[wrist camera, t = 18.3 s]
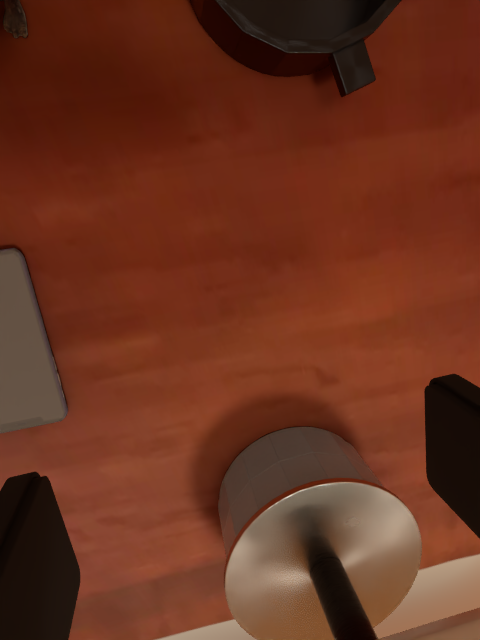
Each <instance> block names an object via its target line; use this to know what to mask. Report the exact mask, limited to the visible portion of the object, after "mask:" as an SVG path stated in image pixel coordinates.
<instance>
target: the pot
mask: <svg viewBox="0 0 480 640" xmlns="http://www.w3.org/2000/svg"><path fill="white" fill-rule="evenodd" d="M329 478H354V479H360V480H365V481H369V482H372V483H375V484H377V485H380V486H382V487H383V485H382V484H381V483H380V481H379V480H378V479H377V477H376V476H375V475H374V473H373V472H372V471H371V469H370V468H369V467H368V466H367V464H366V463H365V462H364V460H363V459H362V458H361V456H360V455H359V454H358V452H357V451H356V450H355V448H354V447H353V446H352V445H351V444H349V443H348V442H347V441H345V440H344V439H343V438H341V437H340V436H338V435H336V434H334V433H332V432H330V431H327V430H324V429H319V428H314V427H292V428H287V429H282V430H279V431H275V432H272V433H270V434H268V435H266V436H263V437H262V438H260V439H258V440H257V441H255V442H253V443H252V444H251V445H249V446H248V447H247V448H246V449H244V450H243V451H242V452H241V453H240V454H239V455H238V456H237V458H236V459H235V460H234V461H233V462H232V464H231V466H230V467H229V469H228V470H227V472H226V474H225V476H224V479H223V481H222V484H221V488H220V493H219V502H218V510H219V517H220V523H221V529H222V535H223V541H224V548H225V554H226V560H227V557H228V554H229V551H230V548H231V546H232V544H233V542H234V540H235V538H236V537H237V535H238V534H239V532H240V530H241V529H242V527H243V526H244V525H245V524H246V523H247V522H248V520H249V519H250V518H251V517H252V516H253V515H254V514H255V513H256V512H257V511H258V510H259V509H260V508H262V507H263V506H264V505H266V504H267V503H268V502H270V501H271V500H272V499H274V498H276V497H277V496H279V495H281V494H282V493H284V492H286V491H288V490H290V489H293V488H295V487H297V486H300V485H303V484H306V483H309V482H312V481H317V480H322V479H329Z"/></svg>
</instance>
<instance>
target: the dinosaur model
mask: <svg viewBox="0 0 480 640" xmlns="http://www.w3.org/2000/svg"><path fill="white" fill-rule="evenodd" d="M0 1H2V0H0ZM3 1H4V3H5V13H4V17H3V25H4V29H5V30H6V31H7V32H9V33H12V34H13V37H14V38H18V37H19V36H20V35H21V36H23V37H24V38H26V37H27V35H28V33H27V23H26V17H25V13H24V10H23V8H22V6H21V4H20V1H19V0H3Z"/></svg>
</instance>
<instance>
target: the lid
mask: <svg viewBox="0 0 480 640" xmlns="http://www.w3.org/2000/svg"><path fill="white" fill-rule="evenodd" d="M421 555H422V542H421V535H420V531H419V528H418V525H417V522H416V520H415V518H414V517H413V515H412V513H411V512H410V510H409V509H408V508H407V507H406V505H405V504H404V503H403V502H402V501H401V500H400V499H399V498H398V497H397V496H396V495H395V494H393V493H392V492H390V491H389V490H387V489H386V488H384V487H382V486H380V485H377V484H375V483H372V482H369V481H365V480H360V479H354V478H329V479H322V480H317V481H312V482H309V483H306V484H303V485H300V486H297V487H295V488H293V489H290V490H288V491H286V492H284V493H282V494H281V495H279V496H277V497H276V498H274V499H272V500H271V501H270V502H268V503H267V504H266V505H264V506H263V507H262V508H260V509H259V510H258V511H257V512H256V513H255V514H254V515H253V516H252V517H251V518H250V519H249V520H248V522H247V523H246V524H245V525H244V526H243V527H242V529H241V530H240V532H239V534H238V535H237V537H236V538H235V540H234V542H233V544H232V546H231V548H230V551H229V554H228V557H227V560H226V564H225V570H224V588H225V594H226V600H227V603H228V606H229V609H230V611H231V613H232V615H233V617H234V618H235V620H236V621H237V622H238V624H239V625H240V626H241V627H242V628H243V629H244V630H245V631H246V632H247V633H248V634H249V635H251V636H252V637H254V638H255V639H257V640H377V639H378V637H377V635H376V633H375V631H374V629H373V628H374V627H375V626H377V625H378V624H379V623H381V622H382V621H383V620H384V619H385V618H386V617H388V616H389V615H390V614H391V613H392V612H393V611H394V610H395V609H396V608H397V606H398V605H399V604H400V603H401V602H402V600H403V599H404V598H405V596H406V595H407V593H408V592H409V590H410V588H411V587H412V585H413V582H414V580H415V578H416V576H417V573H418V569H419V566H420V561H421Z"/></svg>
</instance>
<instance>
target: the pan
mask: <svg viewBox="0 0 480 640" xmlns="http://www.w3.org/2000/svg"><path fill="white" fill-rule="evenodd" d="M400 1H401V0H190V3H191V5H192V7H193V9H194V11H195V14H196V16H197V18H198V19H199V21H200V22H201V24H202V26H203V27H204V29H205V30H206V32H207V33H208V34H209V35H210V37H211V38H212V39H213V40H214V42H215V43H216V44H217V45H218V46H219V47H220V48H221V49H222V50H223V51H225V52H226V53H227V54H228V55H229V56H231V57H232V58H233V59H235V60H236V61H237V62H239V63H241V64H243V65H245V66H246V67H248V68H250V69H253V70H255V71H258V72H261V73H264V74H269V75H273V76H283V77H291V76H301V75H308V74H311V73H313V72H316V71H318V70H321V69H323V68H325V67H327V66H329V65H330V66H331V69H332V72H333V75H334V78H335V81H336V84H337V87H338V89H339V92H340V95H341V97H344V96H346V95H348V94H350V93H352V92H354V91H356V90H358V89H360V88H362V87H364V86H366V85H369V84H370V83H372V82H374V81H375V80H376V78H375V75H374V72H373V69H372V65H371V62H370V59H369V56H368V53H367V49H366V46H365V43H364V40H365V39H367V38H368V37H369V36H370V35H371V34H373V33H374V31H375V30H376V29H377V28H378V27H379V26H380V25H381V23H382V22H383V21H384V20H385V19H386V18H387V16H388V15H389V14H390V13H391V12H392V11H393V9H394V8H395V7H396V6H397V5H398V4H399V3H400Z"/></svg>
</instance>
